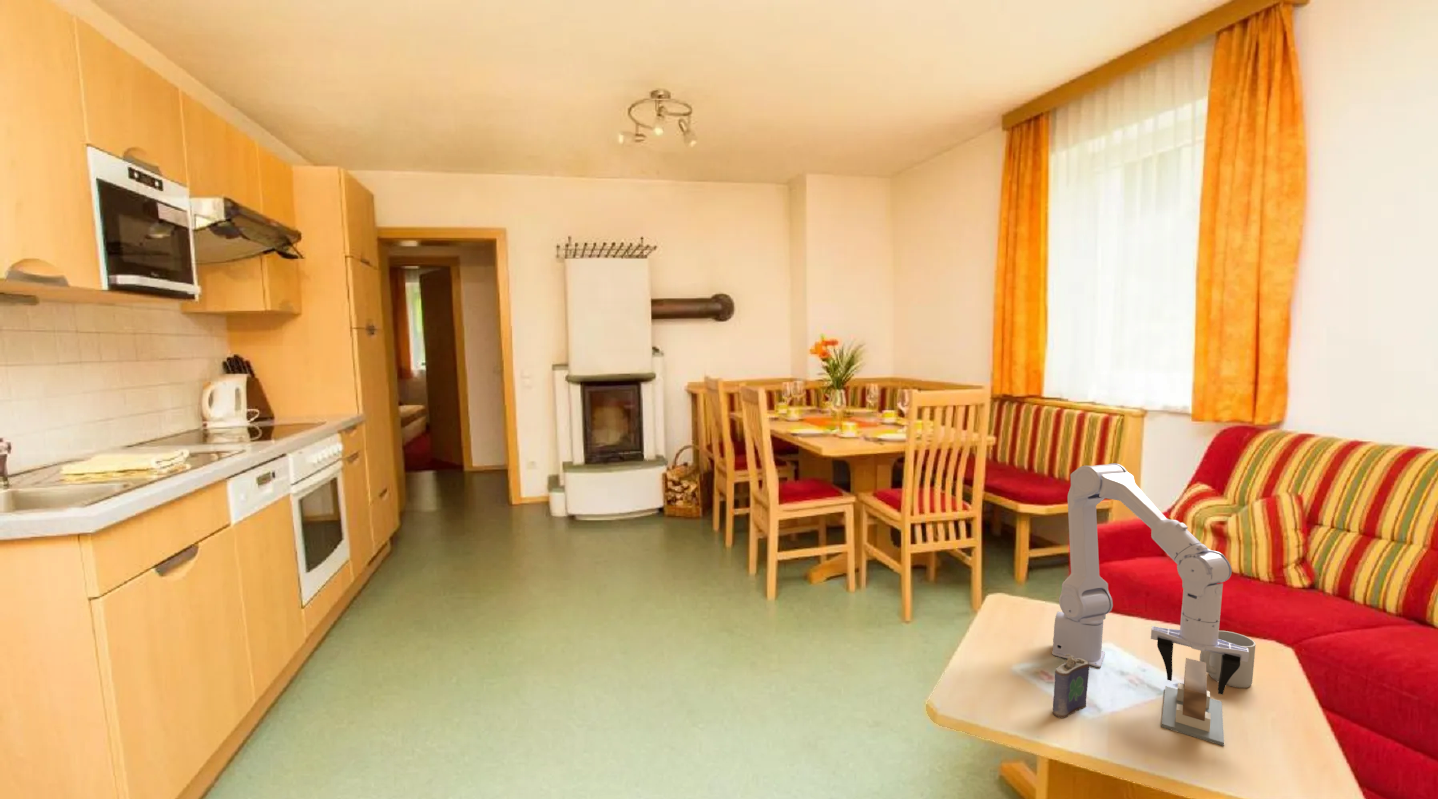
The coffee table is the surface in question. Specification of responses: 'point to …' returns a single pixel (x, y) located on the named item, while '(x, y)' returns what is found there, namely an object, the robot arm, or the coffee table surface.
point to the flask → (1070, 686)
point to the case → (1195, 689)
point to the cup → (1245, 671)
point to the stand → (1191, 726)
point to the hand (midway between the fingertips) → (1194, 685)
